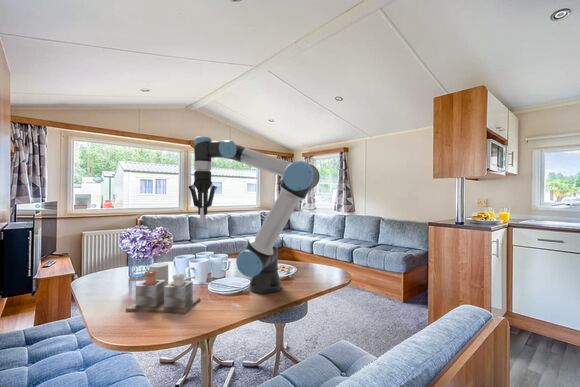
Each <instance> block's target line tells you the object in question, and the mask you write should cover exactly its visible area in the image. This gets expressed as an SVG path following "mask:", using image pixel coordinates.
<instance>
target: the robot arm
mask: <svg viewBox="0 0 580 387" xmlns="http://www.w3.org/2000/svg"><path fill="white" fill-rule="evenodd" d="M193 152H194V156H193V157H194V161H193V163H194V164H193V166H194V167H193V169H194V172H193V174H194V175H193V176H194V178H193V180H194V181H193V184H191V185H189V186H188V189H189V190H190V193H191V199H192V201H193V202H192V203H193V206H194V207H197V208H198V210H197V212H198V213H197V214H198V215H199V223H206V221H207V220H206V219H207V218H206V216H207V215H208V208H209V207H212V205H213V202H214V196H215V192H216V190H217V188H218V186H217V185H215V184H213V182H212V159H214V158H215V159H217V158H220V159H222V158H223V159H225V160H226V159H227V160H232V161H235V162H239V163H241V164H245V165H246V166H250V167H253V168H256V169H258V170H262V171H264V172H268V173H269V174H272V175H273V174H274V175H277V176H279V177H281V178H283V180H282V181H281V183H280V185H279V186H280V192H279V194H278V196H277V197H276V199H275V202H274V203H273V205H272V207H271V208H270V210H269V212H268V214H267V216H266V218H265V219H264V221H263V223H262V224H261V226H260V229H259V230H258V231H257V233H256V236H255V238H250V239H249V241H248V242H247V245H246V247H245V248H244V249H243V250H242V251H240V253H238V255H237V256H236V260H235V262H236V267H237V270H238V271H239V272H240V274H242V275H243V277H246V278H247V277H248V278H251V279H250V280H249V281H250V282H249V289H250V291H252V292H253V293H256V294H257V293H258V294H272V293H273V294H274V293H276V292H278V291H280V290H281V289H282V282H281V278H280V276H279V273H278V267H279V265H278V264H279V263H278V260H279V258H278V257H279V254H278V253H279V251H278V249H279V247H278V246H279V245H278V242H277V240H278V239H279V237H280V234H282V232H283V230H284V228H285V226H286V225H287V223H288V221H289V219H290V218H291V216H292V214H293V213H294V211H295V208H296V207H297V205H298V203H299V202H300V201H302V200H305V198H306V197H307V195H308V193H309V192H310V191H311V190H312V189H315V188H316V187H317V186H318V184H319V181H320V178H321V176H320V172H319V169H318V168H317V167H316V166H315V165H313V164H310V163H308V162H305V161H303V160H298V161H297V160H296V161H293V162H291V161H288V160H284V159H282V158H278V157H275V156H272V155H269V154H266V153H263V152H260V151H256V150H253V149H250V148H248V147H244V146H242V145H239V144H236V143H235V142H234V141H233V140H232V139H231V140H226V139H224V140H212V138H211V137H208V136H196V137H195V138H194V145H193ZM196 190H197V191H196ZM209 190H210V192H209Z"/></svg>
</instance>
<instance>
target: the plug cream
mask: <svg viewBox="0 0 580 387" xmlns="http://www.w3.org/2000/svg"><path fill="white" fill-rule="evenodd" d="M185 277H186V274H185V273H177V274H173V275H172V279H173V281H172V282H173V286H183V285H184V281H185Z"/></svg>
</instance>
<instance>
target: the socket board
mask: <svg viewBox="0 0 580 387" xmlns="http://www.w3.org/2000/svg"><path fill="white" fill-rule="evenodd" d="M193 282H194V281H193V280H184V285H183V286H173V281H171V282H169V283H168V285H166V286H165V280H156V284H154V285H146V280H144V281H142V282H140V283H138V284H136V285H135V302H134V303H132V304H131V305H129V306H128V307H126V308H125V311H126V312H140V313H141V312H142V313H155V314H175V315H176V314H177V315H185V314H187V313H188V312H189V311H190V310H191V309H192V308H193V307H194V306H195V305H197V304H198V302H200V301H201V297H194V295H193V294H194V293H193V292H194V291H193Z"/></svg>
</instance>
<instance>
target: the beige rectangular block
mask: <svg viewBox="0 0 580 387" xmlns="http://www.w3.org/2000/svg"><path fill="white" fill-rule="evenodd" d="M148 269H149V270H148V271H151V270H156V271H157V274H156V280H165V286H166V285H168V284H169V262H155V263H151V264H149V267H148Z"/></svg>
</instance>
